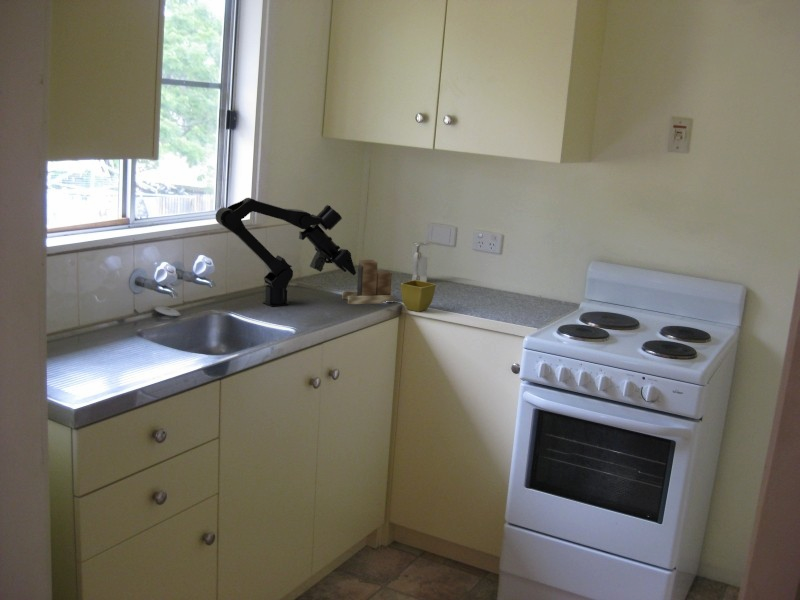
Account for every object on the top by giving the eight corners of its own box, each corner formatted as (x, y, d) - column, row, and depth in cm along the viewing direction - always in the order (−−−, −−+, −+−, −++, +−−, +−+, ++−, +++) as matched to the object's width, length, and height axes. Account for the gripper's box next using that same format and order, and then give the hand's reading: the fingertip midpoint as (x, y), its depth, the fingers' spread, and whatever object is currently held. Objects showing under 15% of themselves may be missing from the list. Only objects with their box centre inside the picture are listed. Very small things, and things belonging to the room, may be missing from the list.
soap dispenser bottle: (431, 281, 345) (433, 243, 341) (422, 284, 339) (424, 245, 335) (416, 279, 348) (418, 241, 345) (406, 281, 342) (408, 243, 339)
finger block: (360, 303, 304) (362, 262, 301) (356, 299, 309) (357, 259, 306) (375, 302, 306) (377, 262, 303) (371, 299, 311) (372, 259, 307)
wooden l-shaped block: (348, 304, 302) (349, 275, 299) (342, 298, 310) (343, 269, 308) (393, 303, 306) (394, 274, 304) (386, 297, 315) (387, 269, 312)
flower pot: (435, 309, 300) (436, 283, 298) (420, 314, 293) (422, 287, 291) (413, 305, 304) (414, 279, 302) (398, 309, 297) (400, 283, 295)
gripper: (295, 254, 305) (325, 285, 311) (311, 260, 288) (342, 293, 294) (318, 231, 307) (347, 263, 313) (335, 235, 290) (366, 269, 296)
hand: (350, 272), depth 304 cm, fingers open, 9 cm apart
